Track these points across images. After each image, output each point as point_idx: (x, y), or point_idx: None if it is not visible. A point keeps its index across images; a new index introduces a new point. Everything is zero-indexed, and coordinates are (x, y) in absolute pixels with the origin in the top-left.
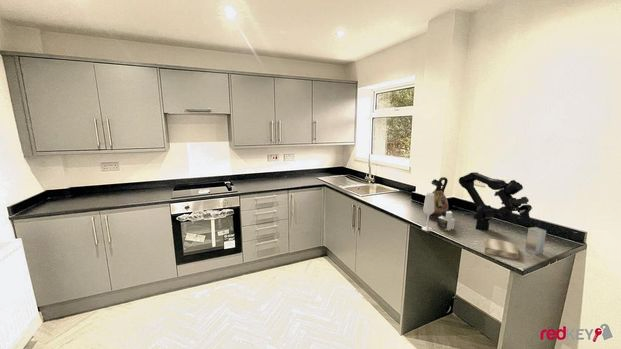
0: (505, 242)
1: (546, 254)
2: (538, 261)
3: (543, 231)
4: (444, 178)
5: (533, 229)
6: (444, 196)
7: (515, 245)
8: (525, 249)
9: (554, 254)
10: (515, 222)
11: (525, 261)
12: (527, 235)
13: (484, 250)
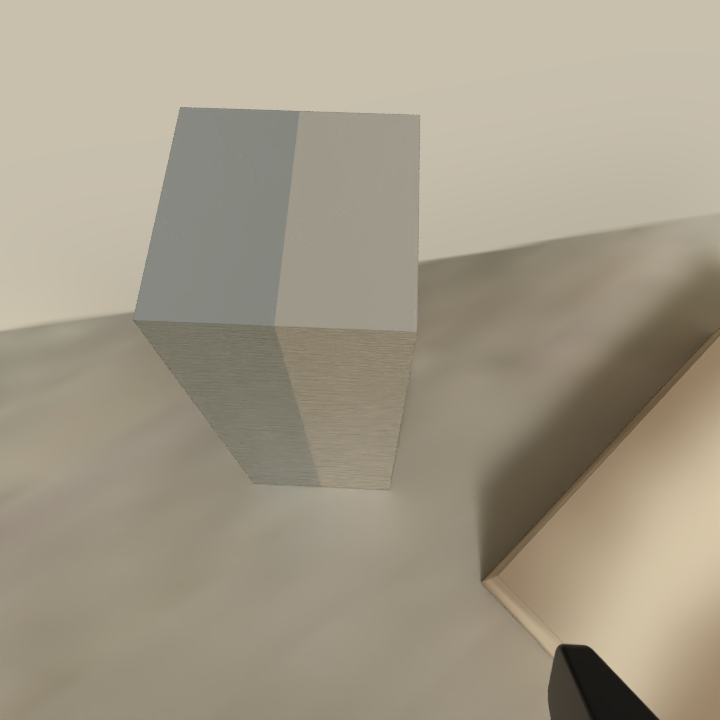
0: (648, 659)
1: None
2: (507, 251)
3: (270, 117)
4: None
5: (402, 224)
6: None
7: (569, 510)
8: (389, 482)
9: None
10: (627, 686)
11: (657, 283)
12: (402, 411)
13: None
